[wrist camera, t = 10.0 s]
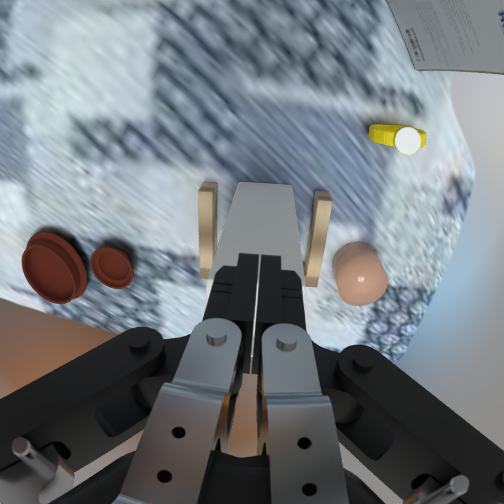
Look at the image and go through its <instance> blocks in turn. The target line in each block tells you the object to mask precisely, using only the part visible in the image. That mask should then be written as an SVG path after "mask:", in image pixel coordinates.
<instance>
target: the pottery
mask: <svg viewBox="0 0 504 504" xmlns="http://www.w3.org/2000/svg"><path fill="white" fill-rule="evenodd" d="M90 264H91V269H92V271H93V273H94V275H95V276H96V278H97V279H98V280H99V281H100V282H101V283H103V284H104V285H106V286H108V287H110V288H114V289H122V288H125V287H127V286H128V285H129V284H130V283H131V282H132V279H133V267H132V264H131V262H130V260H129V257H128V255H127V253H126V252H125V251H124V250H122V249H119V248H112V247H103V248H99V249H97V250H96V251H95V252H94V253H93V254H92V256H91V260H90ZM22 268H23V272H24V275H25V277H26V279H27V281H28V282H29V284H30V285H31V287H32V288H33V289H34V290H35V291H36V292H37V293H38V294H39V295H40V296H41V297H43V298H44V299H46V300H48V301H50V302H52V303H56V304H65V303H68V302H70V301H71V300H72V299H75V298H78V297H79V296H81V295H82V294H83V293H84V291H85V289H86V286H87V272H86V269H85V266H84V263H83V261H82V259H81V258H80V256H79V254H78V253H77V252H76V250H75V249H74V248H73V247H72V246H71V245H70V244H69V243H68V242H67V241H66V240H64V239H63V238H61V237H60V236H58V235H56V234H53V233H49V232H40V233H37V234H35V235H33V236H32V237H31V238H30V240H29V241H28V244H27V247H26V250H25V251H24V253H23V256H22Z"/></svg>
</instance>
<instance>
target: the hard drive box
mask: <svg viewBox="0 0 504 504" xmlns="http://www.w3.org/2000/svg"><path fill="white" fill-rule="evenodd" d="M387 2H388V4H389V6H390V8H391V10H392V12H393V14H394V17H395V19H396V21H397V24H398V26H399V28H400V31H401V34H402V36H403V38H404V41H405V43H406V46H407V48H408V50H409V53H410V56H411V58H412V61H413V64H414V67H415V69H416V70H419V71H434V70H437V71H461V72H477V73H491V74H501V75H504V0H387Z"/></svg>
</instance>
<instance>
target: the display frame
mask: <svg viewBox="0 0 504 504" xmlns="http://www.w3.org/2000/svg"><path fill="white" fill-rule="evenodd" d="M331 207H332V199H331V197H330V195H329V193H328V192H325V191H315V196H314V203H313V210H312V217H311V224H310V231H309V238H308V245H307V251H306V258H305V263H304V262H303V270H304V278H305V287H317V285H318V280H319V275H320V269H321V264H322V259H323V254H324V248H325V243H326V237H327V231H328V225H329V219H330V213H331ZM198 210H199V247H200V274H201V278H204V279H208V276H209V272H210V269H211V266H212V263H213V260H214V256H215V253H216V250H217V183H205V182H204V183H203V185H202V186H201V188H200V189H199V191H198Z"/></svg>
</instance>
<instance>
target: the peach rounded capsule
mask: <svg viewBox="0 0 504 504" xmlns="http://www.w3.org/2000/svg"><path fill="white" fill-rule="evenodd" d="M332 268H333V272H334V276H335V280H336V284H337V288H338V292H339V295H340V297H341V298H342V300H343V301H345V302H346V303H348V304H350V305H354V306H363V305H368V304H370V303H373V302H374V301H376V300H377V299H379V298H380V297H381V296H382V295H383V293H384V292H385V290H386V288H387V284H388V278H387V275H386V272H385V270H384V268H383V266H382V264H381V262H380V260H379V258H378V256H377V254H376V252H375V250H374V249H373V248H372V247H371V246H370V245H368V244H366V243H363V242H352V243H349V244H347V245H345V246H343V247H342V248H340V249H339V250H338V251H337V253H336V254H335V256H334V258H333V261H332Z"/></svg>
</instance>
